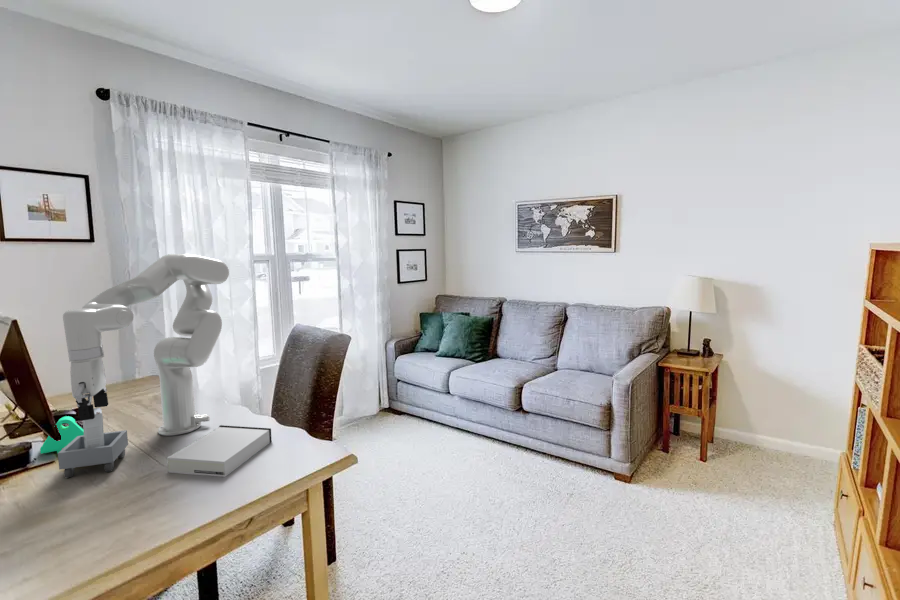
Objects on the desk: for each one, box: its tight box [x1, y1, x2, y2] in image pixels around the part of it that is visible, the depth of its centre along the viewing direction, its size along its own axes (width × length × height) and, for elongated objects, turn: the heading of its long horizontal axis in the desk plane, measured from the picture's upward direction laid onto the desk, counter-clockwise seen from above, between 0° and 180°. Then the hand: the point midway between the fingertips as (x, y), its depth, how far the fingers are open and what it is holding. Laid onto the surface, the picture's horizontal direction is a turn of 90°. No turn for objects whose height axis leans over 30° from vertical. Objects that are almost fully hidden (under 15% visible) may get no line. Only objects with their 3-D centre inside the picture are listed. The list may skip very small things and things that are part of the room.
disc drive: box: [166, 424, 272, 478], centre depth 133 cm, size 18×22×5 cm
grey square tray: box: [57, 429, 129, 479], centre depth 126 cm, size 12×12×8 cm
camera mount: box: [39, 415, 84, 455], centre depth 139 cm, size 12×8×10 cm, turn 123°
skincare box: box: [82, 407, 105, 448], centre depth 126 cm, size 6×4×12 cm
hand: (94, 412), depth 126 cm, fingers open, 9 cm apart
